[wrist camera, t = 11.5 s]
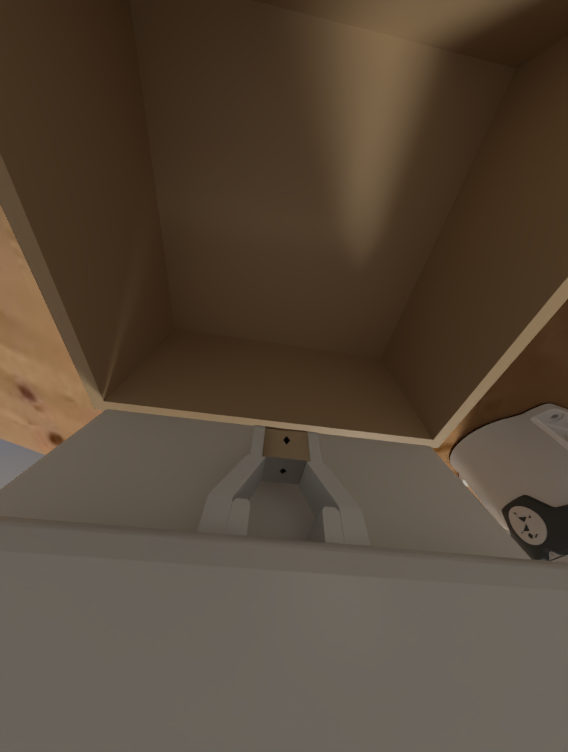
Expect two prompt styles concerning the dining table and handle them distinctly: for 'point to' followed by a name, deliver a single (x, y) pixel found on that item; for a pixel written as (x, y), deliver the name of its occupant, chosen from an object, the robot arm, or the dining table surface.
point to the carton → (290, 201)
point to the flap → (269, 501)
